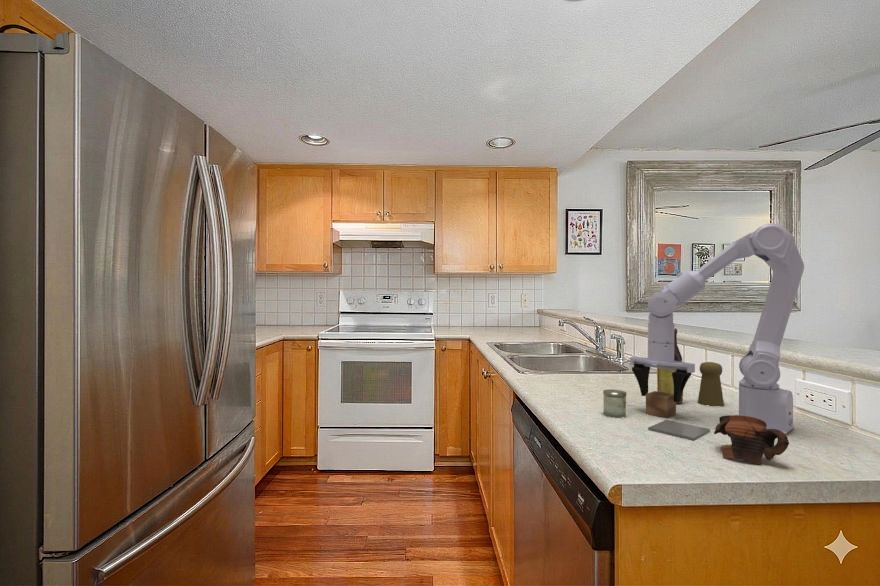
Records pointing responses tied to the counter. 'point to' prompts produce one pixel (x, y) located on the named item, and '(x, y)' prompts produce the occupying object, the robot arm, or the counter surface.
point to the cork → (710, 384)
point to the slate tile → (679, 429)
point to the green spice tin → (614, 403)
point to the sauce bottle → (668, 372)
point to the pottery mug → (750, 439)
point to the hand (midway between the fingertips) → (660, 398)
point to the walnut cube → (660, 404)
